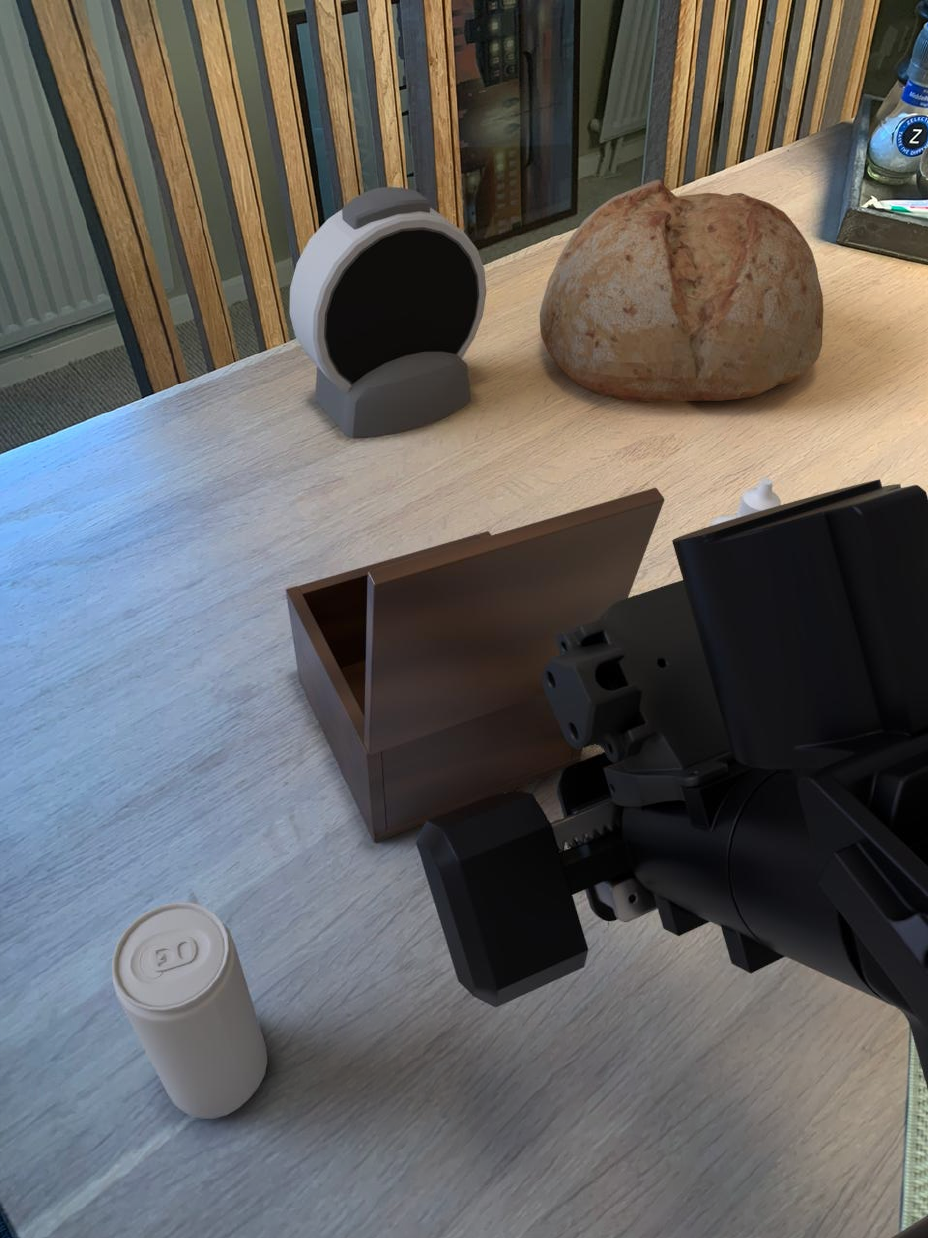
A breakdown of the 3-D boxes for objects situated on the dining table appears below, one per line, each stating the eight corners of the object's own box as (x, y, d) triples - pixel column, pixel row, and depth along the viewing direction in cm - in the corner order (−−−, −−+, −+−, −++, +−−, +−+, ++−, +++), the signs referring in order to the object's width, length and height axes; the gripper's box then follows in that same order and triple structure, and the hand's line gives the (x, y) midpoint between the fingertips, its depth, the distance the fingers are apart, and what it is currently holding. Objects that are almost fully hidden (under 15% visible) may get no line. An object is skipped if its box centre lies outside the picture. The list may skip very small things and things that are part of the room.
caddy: (299, 680, 65) (285, 589, 60) (484, 621, 70) (488, 530, 64) (374, 843, 57) (366, 754, 51) (580, 764, 61) (595, 674, 55)
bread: (796, 305, 103) (837, 156, 93) (831, 432, 87) (885, 268, 76) (543, 288, 105) (554, 140, 94) (530, 410, 89) (542, 246, 78)
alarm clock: (336, 453, 83) (318, 241, 71) (287, 395, 90) (262, 190, 77) (499, 401, 89) (509, 198, 77) (442, 350, 96) (443, 154, 83)
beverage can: (159, 1040, 49) (101, 920, 40) (257, 1007, 50) (220, 883, 41) (175, 1139, 46) (115, 1031, 37) (279, 1101, 47) (243, 988, 38)
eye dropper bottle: (736, 653, 68) (779, 517, 59) (676, 607, 71) (709, 471, 62) (778, 626, 70) (825, 490, 61) (718, 583, 73) (755, 447, 64)
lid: (366, 570, 39) (374, 585, 39) (656, 486, 44) (665, 499, 43) (363, 743, 51) (369, 756, 50) (593, 663, 55) (600, 674, 55)
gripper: (980, 511, 31) (709, 558, 46) (440, 695, 25) (328, 681, 40) (1068, 844, 32) (772, 785, 47) (560, 1098, 26) (407, 938, 41)
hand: (582, 790), depth 44 cm, fingers closed
